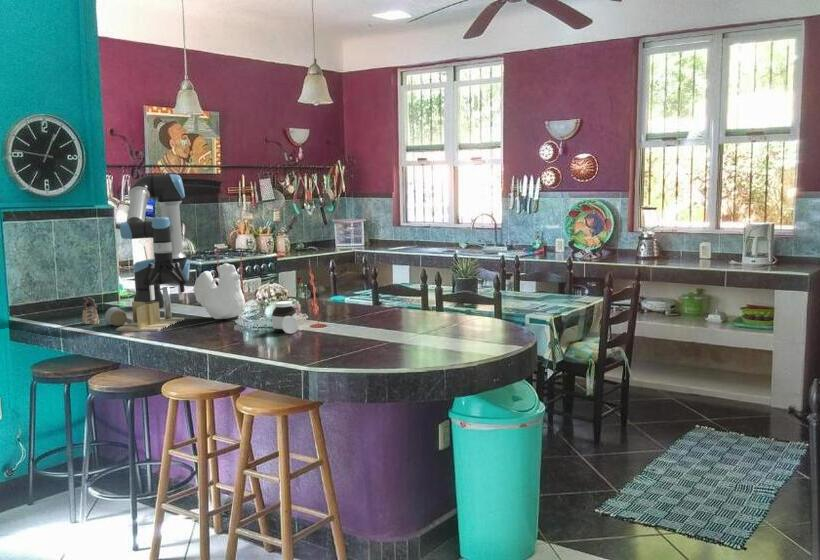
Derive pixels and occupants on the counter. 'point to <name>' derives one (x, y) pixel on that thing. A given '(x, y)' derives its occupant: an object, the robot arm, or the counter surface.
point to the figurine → (89, 312)
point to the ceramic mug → (116, 316)
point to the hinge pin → (167, 302)
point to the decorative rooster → (220, 292)
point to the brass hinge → (146, 313)
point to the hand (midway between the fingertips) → (166, 299)
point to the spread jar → (284, 317)
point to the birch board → (156, 327)
